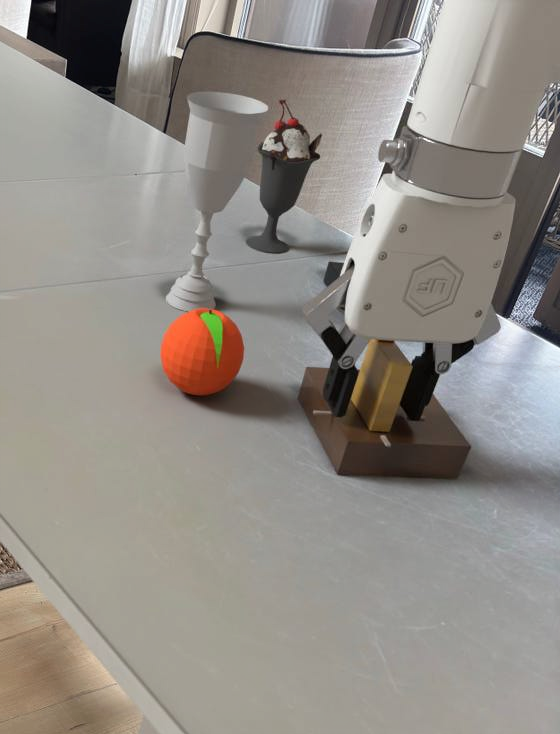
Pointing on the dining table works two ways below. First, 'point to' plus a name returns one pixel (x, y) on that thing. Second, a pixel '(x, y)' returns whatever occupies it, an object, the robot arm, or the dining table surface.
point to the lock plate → (384, 438)
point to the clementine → (202, 351)
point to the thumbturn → (381, 384)
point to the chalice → (214, 175)
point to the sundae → (282, 176)
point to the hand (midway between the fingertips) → (371, 408)
